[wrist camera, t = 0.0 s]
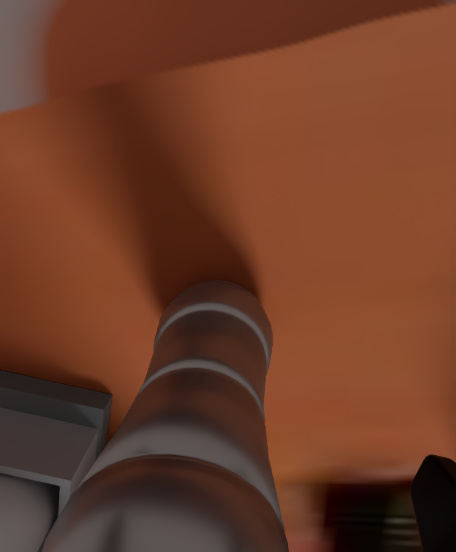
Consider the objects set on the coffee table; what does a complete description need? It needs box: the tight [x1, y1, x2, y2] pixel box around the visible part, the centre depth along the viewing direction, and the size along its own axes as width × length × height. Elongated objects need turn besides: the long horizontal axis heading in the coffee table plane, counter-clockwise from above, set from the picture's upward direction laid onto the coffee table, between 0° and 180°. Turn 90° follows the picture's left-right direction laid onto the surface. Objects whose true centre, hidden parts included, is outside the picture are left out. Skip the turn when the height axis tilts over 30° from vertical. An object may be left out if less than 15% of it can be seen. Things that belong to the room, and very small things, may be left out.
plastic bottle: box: [42, 280, 289, 552], centre depth 14 cm, size 6×7×20 cm
